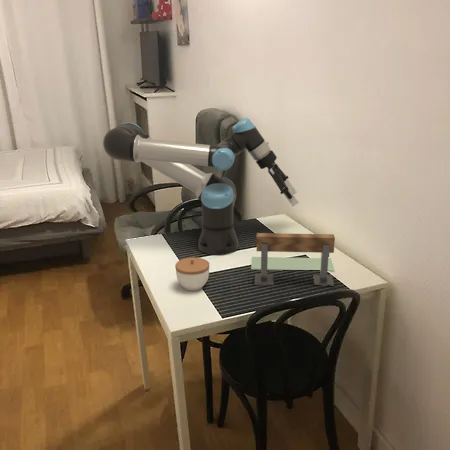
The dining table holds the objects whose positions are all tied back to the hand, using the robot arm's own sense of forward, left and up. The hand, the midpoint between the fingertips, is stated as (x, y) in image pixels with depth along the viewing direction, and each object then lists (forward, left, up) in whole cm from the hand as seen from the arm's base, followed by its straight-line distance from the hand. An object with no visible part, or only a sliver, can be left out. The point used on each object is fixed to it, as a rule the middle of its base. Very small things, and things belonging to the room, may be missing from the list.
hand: (294, 199), depth 192 cm
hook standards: (-2, -40, -15) cm, 43 cm away
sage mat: (-2, -27, -15) cm, 31 cm away
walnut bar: (-2, -40, -4) cm, 41 cm away
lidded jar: (-34, -45, -16) cm, 59 cm away
